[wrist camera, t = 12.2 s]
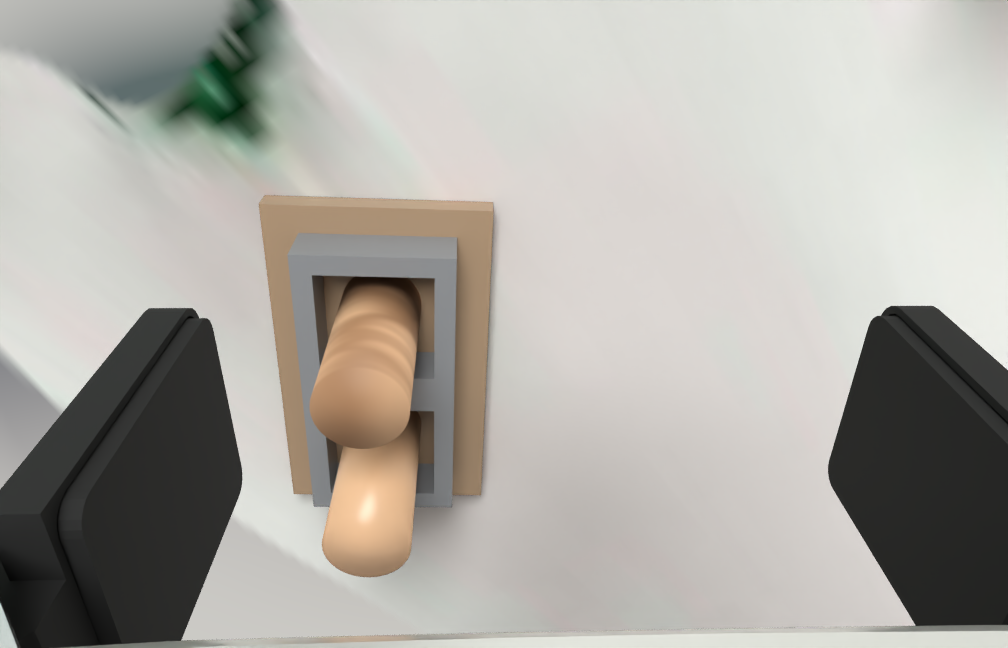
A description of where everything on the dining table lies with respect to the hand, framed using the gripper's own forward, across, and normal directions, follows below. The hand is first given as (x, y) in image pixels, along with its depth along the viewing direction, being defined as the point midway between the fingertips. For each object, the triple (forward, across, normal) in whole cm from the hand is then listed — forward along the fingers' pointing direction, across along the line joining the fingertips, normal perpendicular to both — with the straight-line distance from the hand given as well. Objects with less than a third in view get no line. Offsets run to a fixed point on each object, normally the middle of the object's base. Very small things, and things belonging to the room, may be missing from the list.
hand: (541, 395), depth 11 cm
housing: (+26, +6, +15) cm, 31 cm away
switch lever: (+25, +6, +12) cm, 28 cm away
